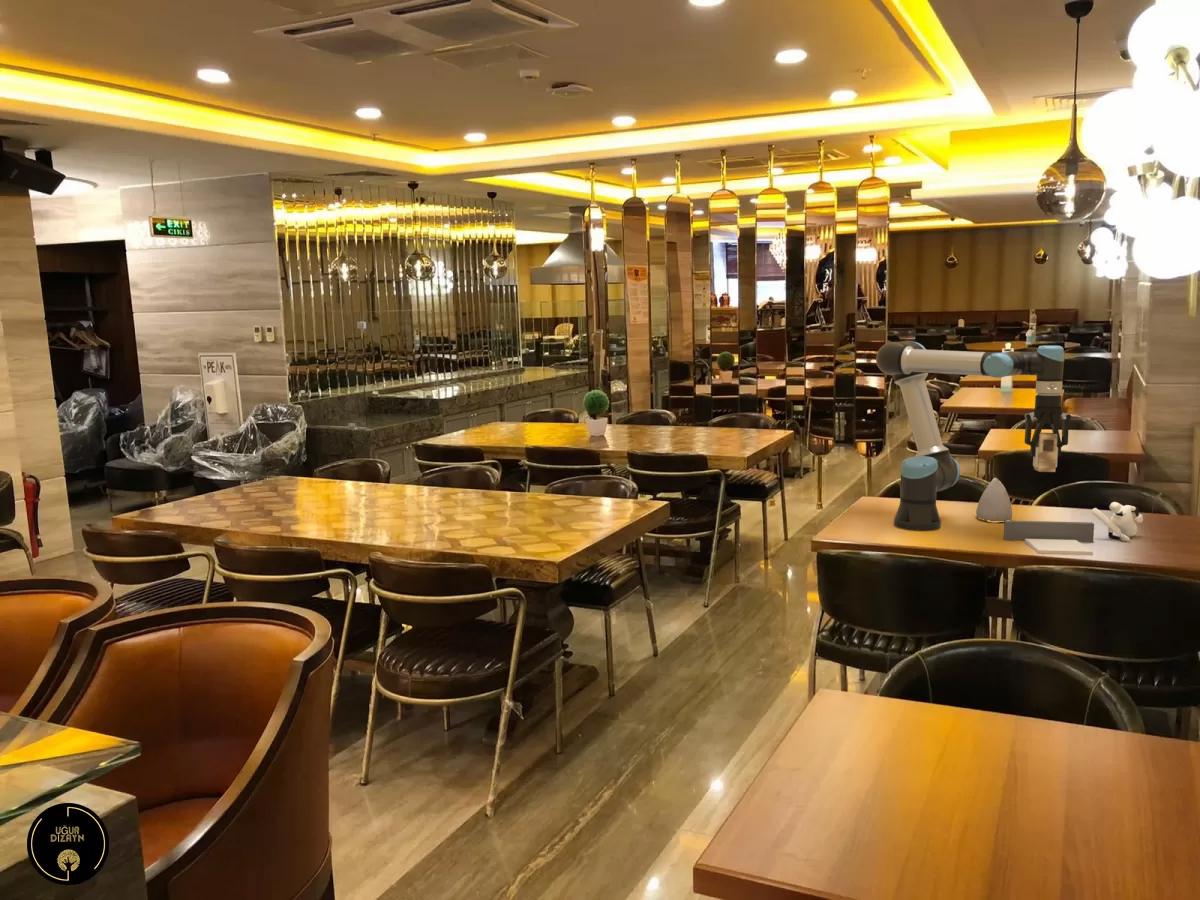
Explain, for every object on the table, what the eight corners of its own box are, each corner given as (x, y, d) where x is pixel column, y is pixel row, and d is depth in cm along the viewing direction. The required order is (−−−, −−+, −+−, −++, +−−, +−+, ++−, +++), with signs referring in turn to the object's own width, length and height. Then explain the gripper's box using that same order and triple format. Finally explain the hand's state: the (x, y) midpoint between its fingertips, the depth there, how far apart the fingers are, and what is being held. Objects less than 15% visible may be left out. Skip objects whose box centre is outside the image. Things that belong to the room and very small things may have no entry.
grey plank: (1005, 540, 290) (1006, 521, 289) (1003, 538, 292) (1004, 520, 291) (1093, 542, 285) (1094, 523, 284) (1090, 540, 287) (1092, 522, 286)
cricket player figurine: (1131, 554, 288) (1115, 527, 280) (1103, 539, 297) (1088, 513, 289) (1160, 525, 288) (1145, 497, 280) (1132, 512, 297) (1117, 484, 289)
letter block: (1038, 471, 290) (1040, 434, 289) (1034, 469, 295) (1035, 432, 294) (1055, 472, 289) (1057, 434, 288) (1050, 469, 294) (1052, 432, 293)
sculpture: (1020, 522, 316) (1022, 479, 313) (990, 524, 313) (992, 481, 311) (996, 515, 328) (998, 474, 326) (967, 517, 325) (969, 475, 323)
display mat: (1038, 553, 273) (1039, 550, 273) (1024, 541, 287) (1025, 538, 287) (1092, 554, 270) (1092, 551, 270) (1075, 543, 285) (1076, 539, 285)
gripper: (1021, 395, 287) (1018, 468, 290) (1083, 395, 284) (1078, 468, 287) (1015, 393, 294) (1011, 464, 298) (1075, 393, 291) (1071, 465, 294)
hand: (1044, 466), depth 292 cm, fingers closed on letter block, 5 cm apart
